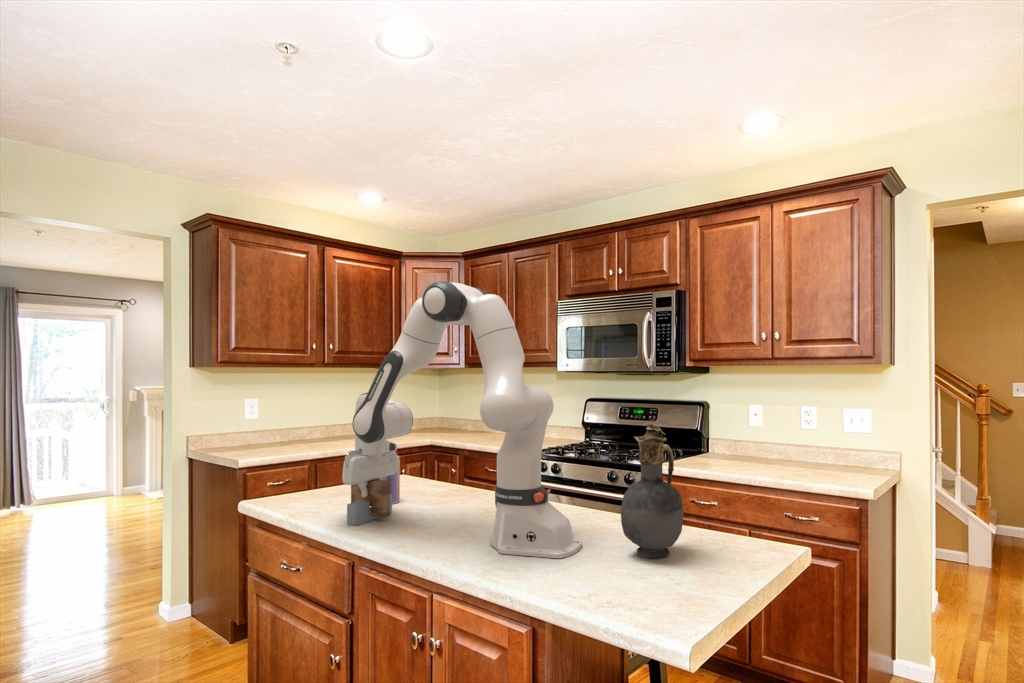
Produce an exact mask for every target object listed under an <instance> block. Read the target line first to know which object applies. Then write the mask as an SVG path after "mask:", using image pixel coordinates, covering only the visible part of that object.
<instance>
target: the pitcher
mask: <svg viewBox="0 0 1024 683" xmlns="http://www.w3.org/2000/svg"><path fill="white" fill-rule="evenodd" d="M645 427H646V432H645V434H643V435H642V436H641V435H640V436H635V435H634V436H633V438H634V439H635V441H637V443H638V446H639V464H640V480H638V481H636V482H634V483H632V484H631V485H630V486H629V487H628V488H627V490H625V492H624V494H623V497H622V501H621V506H620V507H621V509H620V521H621V527H622V532H623V534H624V536H625V537H626V539H628V540H629V541H630V542H631V543H632V544H635V545H636V546H637V547H638V548H636V554H637V555H638V556H640V557H642V558H645V559H650V560H651V559H652V560H653V559H654V560H657V559H664V558H667V557H668V556H669V555H670V550H669V548H670V547H672V546H673V545H675V543H676V542H677V541H678V539H679V538H680V535H682V534H681V533H682V530H683V524H684V522H683V521H684V504H683V500H682V495H681V493H680V491H678V489H676V487H674V486H673V485H671V484H672V480H673V473H674V470H675V469H674V466H675V465H674V462H675V461H674V454H673V450H672V448H671V447H670V445H669V444H666V443H665V444H664V442H666V441H667V438H666V437H665V436H666V433H664V432H663V431H662V428H660V427H659V426H656V425H655V424H652V423H647V425H645ZM665 452H666V454H667V457H668V466H667V474H668V475H667V480H666V481H664V480H663V464H664V453H665Z"/></svg>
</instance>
